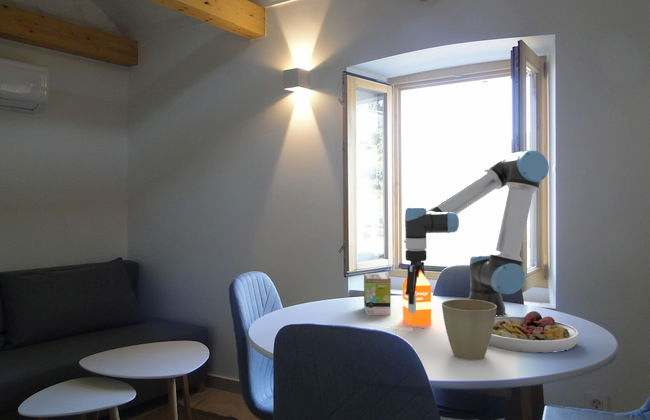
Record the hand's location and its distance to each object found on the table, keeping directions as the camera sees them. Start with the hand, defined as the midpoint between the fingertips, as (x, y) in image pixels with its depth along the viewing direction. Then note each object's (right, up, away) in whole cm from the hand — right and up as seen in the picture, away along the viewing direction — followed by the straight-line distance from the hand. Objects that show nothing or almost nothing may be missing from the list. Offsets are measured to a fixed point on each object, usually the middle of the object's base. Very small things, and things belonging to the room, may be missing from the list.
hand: (416, 309), depth 187 cm
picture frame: (-13, -6, -12) cm, 19 cm away
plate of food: (+30, -6, -26) cm, 40 cm away
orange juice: (0, -5, +1) cm, 5 cm away
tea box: (-12, -5, +21) cm, 25 cm away
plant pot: (+7, -6, -43) cm, 44 cm away
